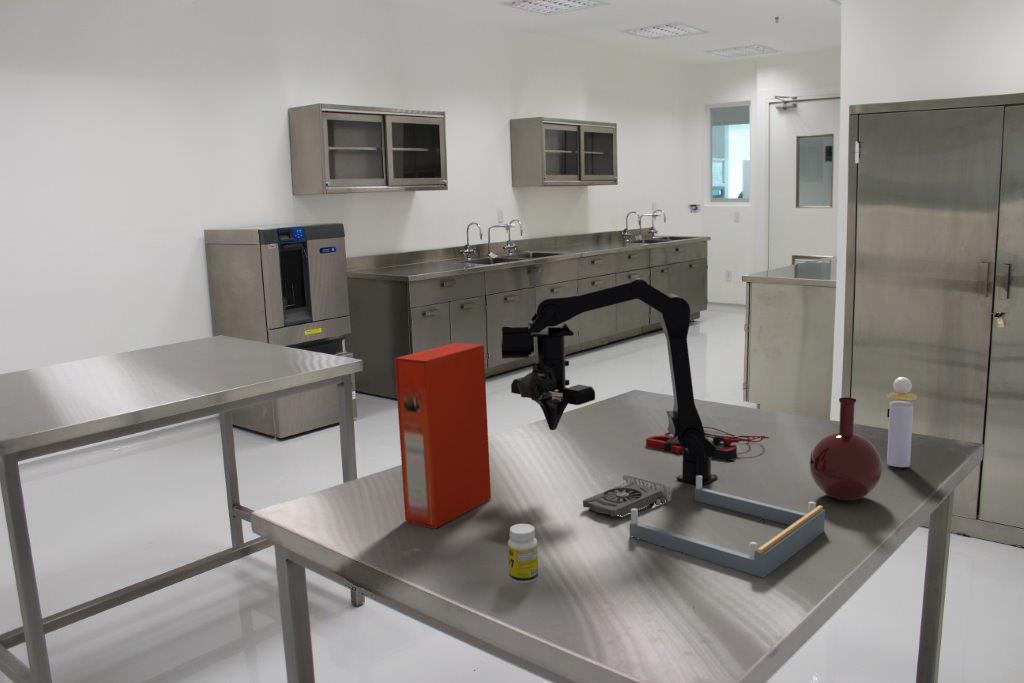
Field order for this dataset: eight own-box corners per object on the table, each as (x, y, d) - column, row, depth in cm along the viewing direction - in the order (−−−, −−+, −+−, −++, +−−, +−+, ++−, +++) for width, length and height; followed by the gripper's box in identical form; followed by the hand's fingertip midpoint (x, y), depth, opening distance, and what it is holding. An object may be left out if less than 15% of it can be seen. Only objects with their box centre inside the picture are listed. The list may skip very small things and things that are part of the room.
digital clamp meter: (741, 448, 181) (639, 432, 196) (741, 467, 182) (640, 450, 196) (775, 422, 200) (680, 409, 214) (775, 440, 200) (680, 426, 215)
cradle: (697, 498, 163) (698, 474, 162) (824, 531, 145) (825, 504, 144) (629, 536, 146) (629, 509, 145) (763, 578, 129) (764, 548, 128)
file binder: (404, 520, 157) (394, 357, 151) (459, 492, 170) (452, 342, 165) (436, 529, 152) (427, 361, 146) (491, 499, 166) (484, 345, 160)
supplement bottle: (508, 571, 134) (506, 523, 132) (536, 569, 134) (535, 521, 133) (510, 585, 129) (508, 535, 128) (540, 583, 129) (538, 533, 128)
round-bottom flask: (847, 516, 152) (851, 411, 148) (793, 494, 163) (796, 397, 160) (895, 501, 158) (900, 401, 154) (840, 482, 169) (843, 388, 166)
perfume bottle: (917, 471, 174) (922, 380, 170) (889, 471, 174) (893, 380, 171) (907, 462, 179) (911, 374, 176) (879, 462, 180) (884, 374, 177)
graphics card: (626, 472, 171) (672, 484, 162) (627, 489, 171) (672, 502, 162) (569, 494, 160) (615, 508, 151) (570, 512, 161) (616, 527, 152)
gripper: (491, 358, 169) (494, 430, 172) (560, 369, 157) (562, 447, 159) (527, 350, 177) (529, 419, 180) (596, 359, 165) (597, 434, 167)
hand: (552, 429), depth 171 cm, fingers closed
